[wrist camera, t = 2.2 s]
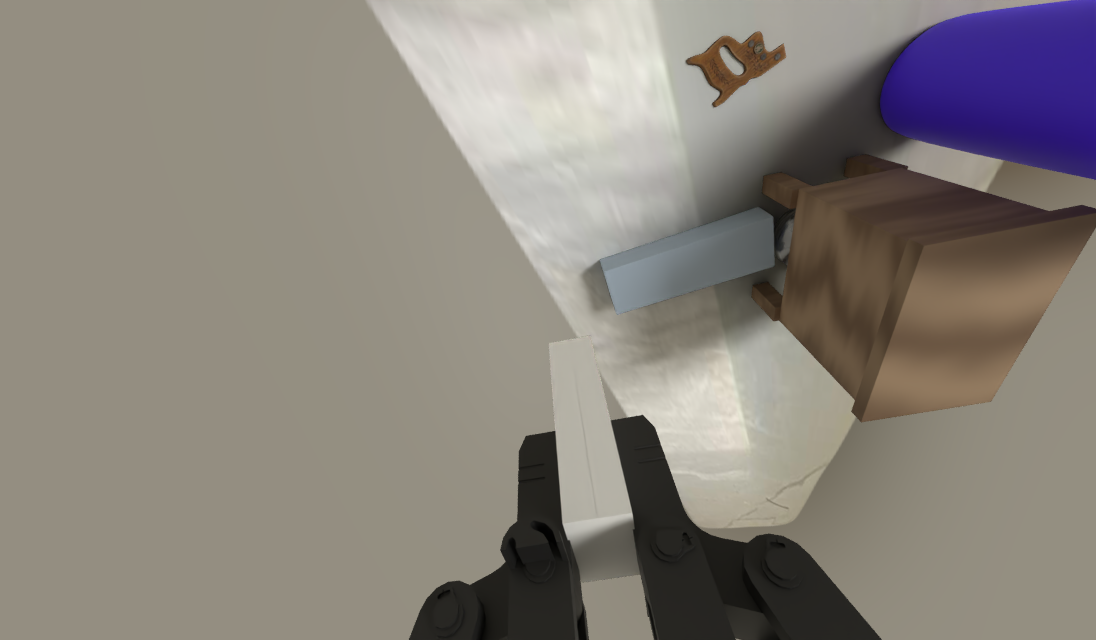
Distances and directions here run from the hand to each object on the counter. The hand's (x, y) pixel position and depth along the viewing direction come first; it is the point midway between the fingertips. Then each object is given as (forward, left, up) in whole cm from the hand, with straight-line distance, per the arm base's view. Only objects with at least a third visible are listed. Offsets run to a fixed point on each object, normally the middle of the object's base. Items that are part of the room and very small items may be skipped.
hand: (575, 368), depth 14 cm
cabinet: (+9, +23, -24) cm, 34 cm away
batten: (+9, +11, -24) cm, 28 cm away
